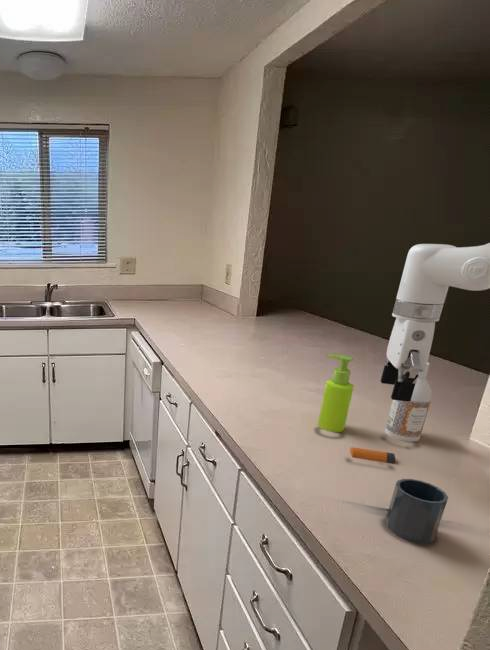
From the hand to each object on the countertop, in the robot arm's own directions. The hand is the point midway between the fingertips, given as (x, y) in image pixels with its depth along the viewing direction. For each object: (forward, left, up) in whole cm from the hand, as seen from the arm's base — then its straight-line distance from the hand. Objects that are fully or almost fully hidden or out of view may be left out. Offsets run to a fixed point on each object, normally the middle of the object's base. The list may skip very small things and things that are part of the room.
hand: (394, 391), depth 90 cm
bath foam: (-8, -15, -17) cm, 24 cm away
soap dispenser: (+8, -14, -17) cm, 23 cm away
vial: (+1, 0, -17) cm, 17 cm away
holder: (-1, +23, -17) cm, 29 cm away
